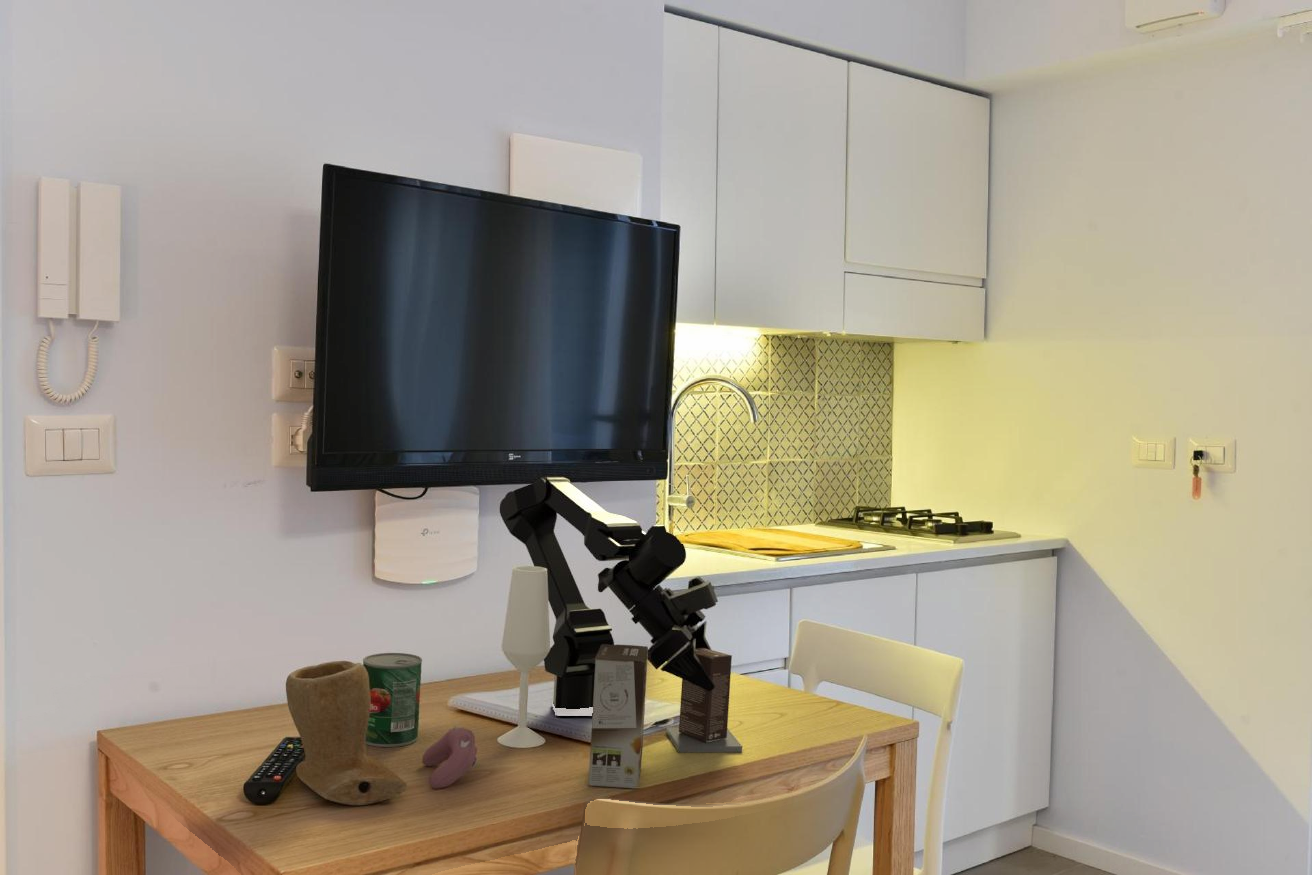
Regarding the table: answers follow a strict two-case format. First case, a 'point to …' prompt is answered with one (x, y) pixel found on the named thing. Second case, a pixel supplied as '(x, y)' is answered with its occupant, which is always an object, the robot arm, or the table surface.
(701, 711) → the box
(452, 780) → the purple curved piece
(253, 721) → the table surface
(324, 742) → the brown boot
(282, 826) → the table surface
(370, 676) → the canned tomato
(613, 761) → the coffee box
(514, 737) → the champagne flute
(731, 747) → the slate pad
